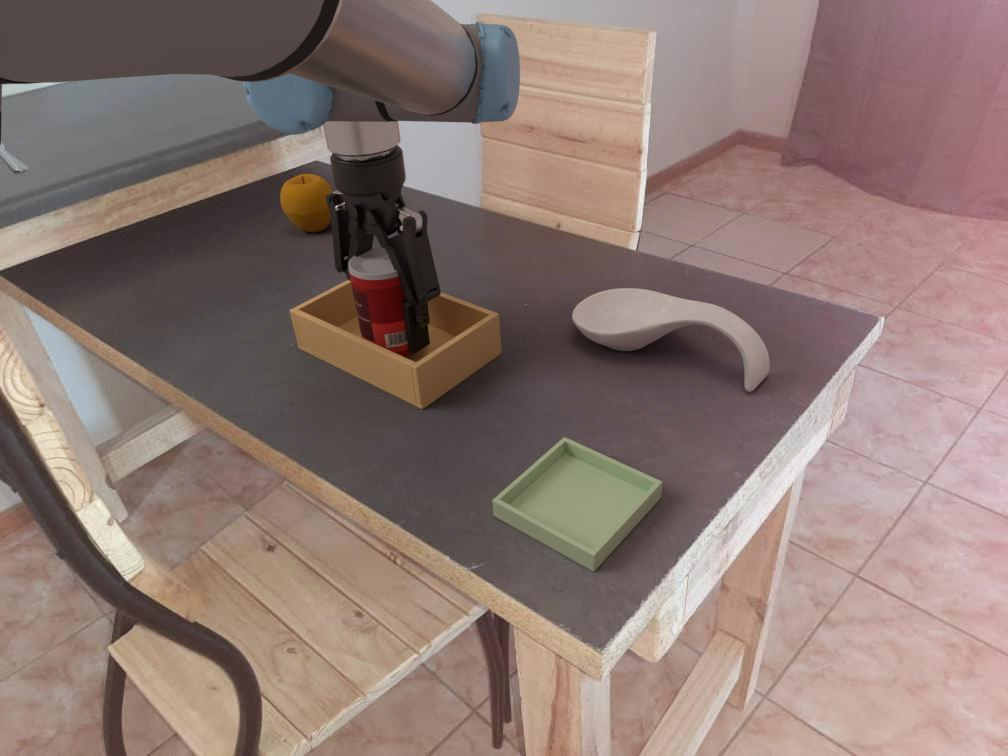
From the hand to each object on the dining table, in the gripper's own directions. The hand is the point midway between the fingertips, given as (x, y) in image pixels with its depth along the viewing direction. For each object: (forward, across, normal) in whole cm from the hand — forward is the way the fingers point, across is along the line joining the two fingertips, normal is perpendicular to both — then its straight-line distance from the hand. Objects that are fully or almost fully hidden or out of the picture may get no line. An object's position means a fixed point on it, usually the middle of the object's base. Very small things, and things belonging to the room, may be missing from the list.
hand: (395, 337), depth 93 cm
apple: (+2, +39, -18) cm, 43 cm away
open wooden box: (+2, 0, 0) cm, 2 cm away
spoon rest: (+2, -26, -18) cm, 32 cm away
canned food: (+1, 0, 0) cm, 1 cm away
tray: (+2, -33, +9) cm, 34 cm away
